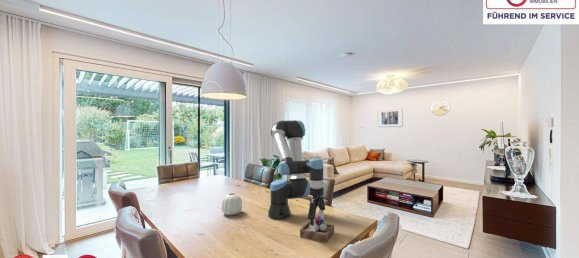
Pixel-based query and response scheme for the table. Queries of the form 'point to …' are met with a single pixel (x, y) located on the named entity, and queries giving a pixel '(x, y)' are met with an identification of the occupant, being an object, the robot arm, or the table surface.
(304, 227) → the wooden tray
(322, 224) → the multicoloured small pieces
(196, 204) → the table surface
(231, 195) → the vase
